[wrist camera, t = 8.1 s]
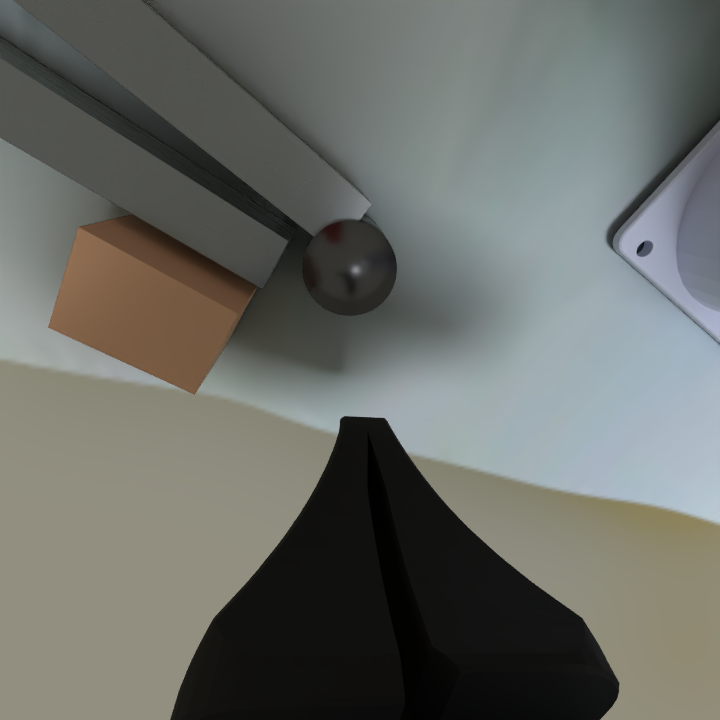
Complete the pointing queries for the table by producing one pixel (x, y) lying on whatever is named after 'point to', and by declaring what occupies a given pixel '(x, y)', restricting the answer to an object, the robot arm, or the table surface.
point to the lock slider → (149, 300)
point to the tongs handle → (134, 169)
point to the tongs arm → (236, 141)
